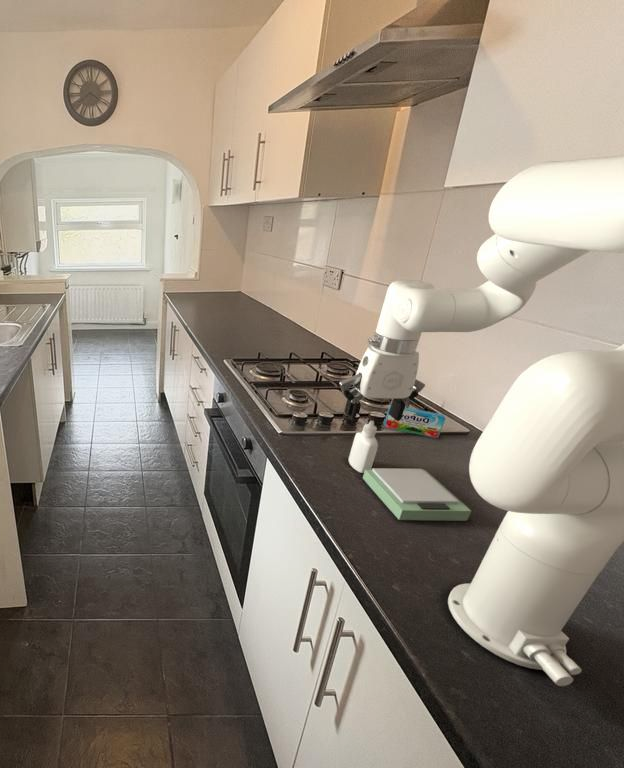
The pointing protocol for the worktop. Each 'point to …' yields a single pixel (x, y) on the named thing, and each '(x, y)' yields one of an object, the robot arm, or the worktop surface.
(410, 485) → the scale
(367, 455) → the eye dropper bottle
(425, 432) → the yogurt
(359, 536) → the worktop surface
